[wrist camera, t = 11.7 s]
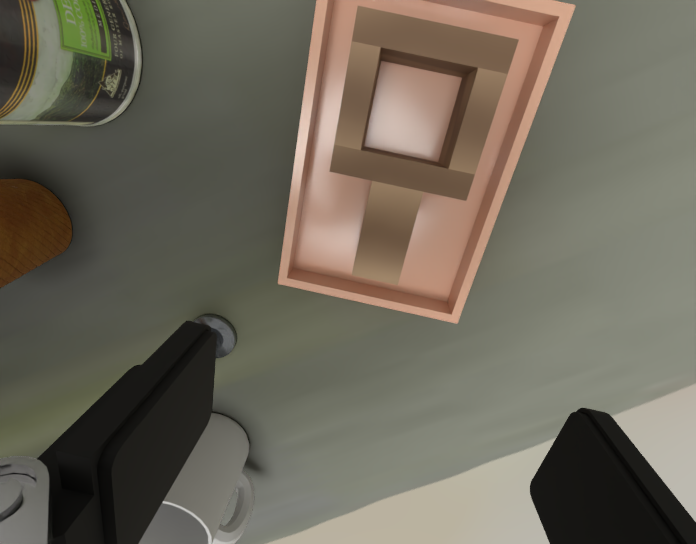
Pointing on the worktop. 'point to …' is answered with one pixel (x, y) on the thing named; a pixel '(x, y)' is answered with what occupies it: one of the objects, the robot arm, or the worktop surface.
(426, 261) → the tray
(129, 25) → the coffee can
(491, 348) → the worktop surface
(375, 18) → the brown square frame
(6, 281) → the disposable coffee cup
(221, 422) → the cup
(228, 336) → the grey piece
